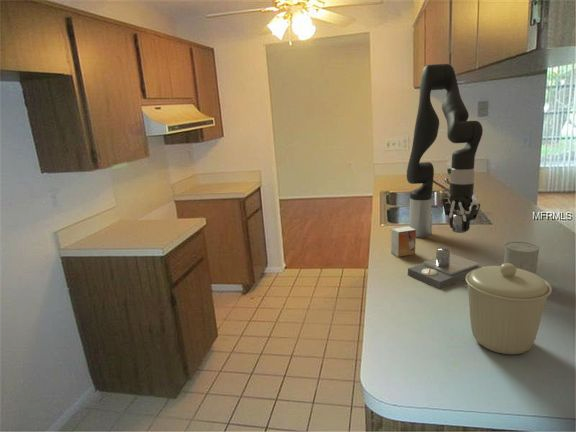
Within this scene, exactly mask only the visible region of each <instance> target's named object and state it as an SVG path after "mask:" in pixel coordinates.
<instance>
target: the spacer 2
mask: <svg viewBox="0 0 576 432" xmlns="http://www.w3.org/2000/svg"><path fill="white" fill-rule="evenodd" d="M466 216H467V215H466ZM463 221H464V220H463V216H462V215H461V212H457V213H454V214H453V227H452V228H451V230H452V231H451V232H452V233H456V234H458V233H460V234H464V233H466V232H467V231H465V232H464V231H462V228H463Z"/></svg>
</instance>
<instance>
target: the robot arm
mask: <svg viewBox="0 0 576 432" xmlns="http://www.w3.org/2000/svg"><path fill="white" fill-rule="evenodd" d="M419 86H420V88H419V99H418V106H417V107H418V109H417V112H416V113H417V115H416V119H415V124H414V130H413V131H414V132H413V139H412V144H411V145H412V146H411V153H410V155H409V161H408V164H407V168H406V180H407V182H408V184H411V185H412V184H413V185H415V184H416V185H417V184H421V185H420V186H419V187H418V188H415V189H413V190H411V191H410V193H409V219H408V221H409V222H408V223H409V225H408V226H409V227H411V228H413V229H415V230H416V238H427V237H430V235H432V234H433V232H432V231H433V214H432V197H433V196H432V195H433V190H434V189H433V187H434V186H433V185H434V177H435V172H434V171H435V169H434V165H433V163H431V162H428V161H426V162H424V161H423V162H421V159H422V157H423V155H424V154H425V153H426V152H427V151H428V150H429V148H430V147H431V146H432V145H433V144H434V143H435V141H436V140H437V138H438V133H439V129H440V119H439V116H438V114H437V112H436V110H435V109H434V107H433V104H432V101H431V94H432V93H431V92H432V91H439V90H441V91H443V90H446V94H445V96H444V97H443V99H442V103H441V110H442V112H443V115H444V118H445V120H446V124H447V131H446V132H447V133H446V135H447V136H446V137H447V139H448V141H450V142H451V143H452V144H465V146H464V147H463V148H461V149H458V150H457V149H456V150H455V151H454V152H452V155H451V167H450V174H449V175H450V176H449V190H448V191H449V192H448V193H449V197H444V198H442V205H443V210H444V215H445V216H448V217H449V227H450V228H451V229H452V227H453V214H454V213H459V212H460V213H461V215H462V216H463V220H464V221H463V228H462V231H464V233H466V232H468V231H469V230H470V227H471V226H470V225H471V224H470V223H471V221H474V220H476V218H477V216H478V213H479V211H480V208H481V204H480V203H475V202H474V201H473V195H474V187H475V161H476V160H475V158H476V153H477V151H478V147H479V145H480V142H481V140H482V137H483V132H484V131H483V130H484V129H483V125H482V124H481V122H480V121H478V120H468V119H469V117H470V114H469V111H468V110H467V108H466V105H465V104H464V101H463V99H462V96H461V94H460V89H459V84H458V81H457V76H456V73H455V70H454V67H453V65H451V64H449V63H439V64H437V63H436V64H427V65H425V66H424V67H423V69H422V72H421V77H420V85H419ZM466 215H467V216H466ZM465 231H466V232H465Z"/></svg>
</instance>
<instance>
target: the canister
mask: <svg viewBox="0 0 576 432" xmlns="http://www.w3.org/2000/svg"><path fill="white" fill-rule="evenodd" d="M464 280H465V282H466V284H467V286H468V287H467V288H468V290H467V291H468V303H469V304H468V305H469V317H470V319H469V320H470V327H471V333H472V336H473V337H474V339H475V341H476V342H477V343H478V344H480V346H482V347H483V348H486V349H487V350H490V351H491V352H492V351H493V352H495V353H499V354H503V355H512V356H513V355H520V354H524V353H525V351H526V352H527V351H528V350H530V349H531V348H532V347H533V345H534V343H535V340H536V339H537V335H538V332H539V328H540V325H541V321H542V318H543V314H544V310H545V307H546V302H547V298H548V297H549V296H550V295H551V294H552V292H553V288H552V286H551V284H550V283H549V282H548V281H547V280H545V279H544V278H542V277H540V276H539V275H538V274H537V273H536V274H534V273H531V272H529V271H526V270H522V269H518V268H516V267H515V266H514V265H513V264H510V263H504V262H503V263H502V264H501V265H487V266H481V268H478V269H476V270H473V271H471V272H469V273H468V274H467V275H466V278H465V279H464Z"/></svg>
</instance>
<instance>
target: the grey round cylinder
mask: <svg viewBox="0 0 576 432" xmlns="http://www.w3.org/2000/svg"><path fill="white" fill-rule="evenodd" d="M539 250H540V248H539V246H538V245H536V244H534V243H531V242H524V241H510V242H506V243H505V244H504V256H503V257H504V258H503V264H504V263H510V264H513V265H514V266H515V267H516V268H518V269H522V270H526V271H529V272H531V273H534V274H536V275H537V269H538V260H539V253H540V252H539Z"/></svg>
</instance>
